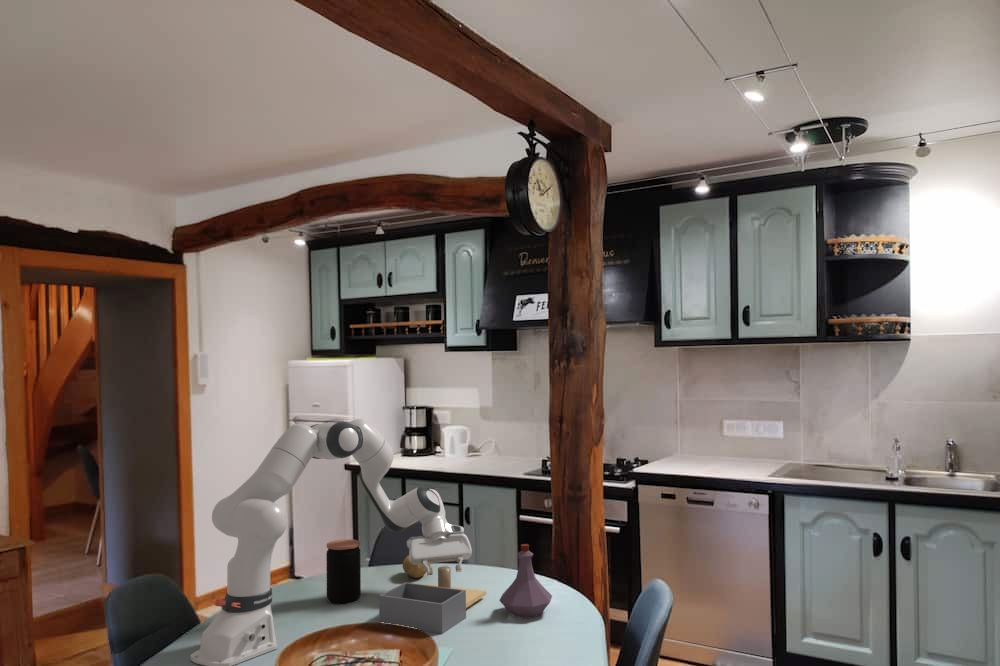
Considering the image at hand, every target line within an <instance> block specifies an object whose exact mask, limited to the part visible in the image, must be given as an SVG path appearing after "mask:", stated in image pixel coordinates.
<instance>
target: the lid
mask: <svg viewBox="0 0 1000 666" xmlns="http://www.w3.org/2000/svg"><path fill="white" fill-rule="evenodd" d="M451 570H452V569H451V567H450V566H445V565H444V566H439V567H437V584H434V583H433V584H432V583H425V584H424V585H430V586H437V587H445V588H453V589H460V590H466V609H467V608H469V607H471V606H472V605H474V604H475V603H476V602H478V601H479V600H480V599H482V598H483V597H485V596H486V595H487V590H482V589H475V588H474V589H473V588H465V587H455V586H452V583H451V580H452V579H451V577H452V576H451V573H452V572H451Z"/></svg>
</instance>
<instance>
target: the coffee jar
mask: <svg viewBox="0 0 1000 666" xmlns="http://www.w3.org/2000/svg"><path fill="white" fill-rule="evenodd" d="M360 545H361V541H360V540H357V539H351V538H347V539H345V538H342V539H335V540H331V541H329V542H327V543H326V549H327V550H326V556H325V557H326V558H325V559H326V560H325V561H326V599H327V601H328V603H330V604H332V605H348V603H349V604H352V602H353V603H355V601H356V602H358V600H359V599H360V597H361V595H362V593H361V589H362V588H361V585H362V584H361V577H362V576H361V572H362V571H361V549H360Z"/></svg>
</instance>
